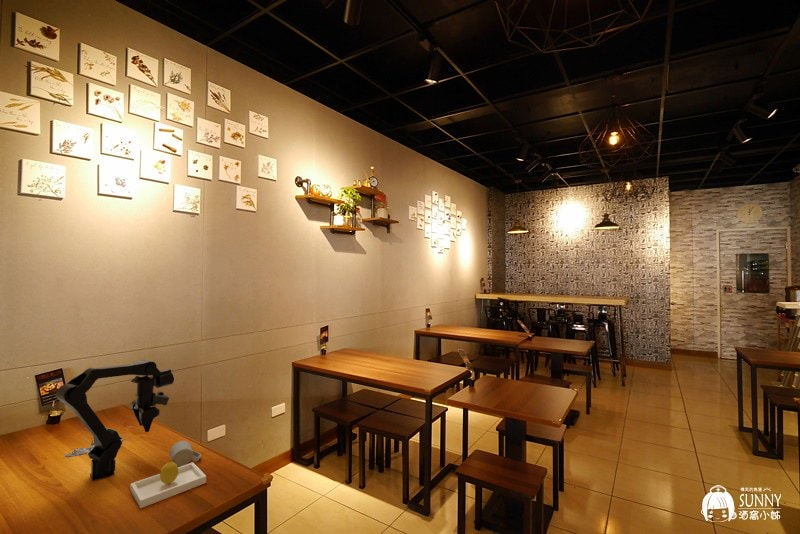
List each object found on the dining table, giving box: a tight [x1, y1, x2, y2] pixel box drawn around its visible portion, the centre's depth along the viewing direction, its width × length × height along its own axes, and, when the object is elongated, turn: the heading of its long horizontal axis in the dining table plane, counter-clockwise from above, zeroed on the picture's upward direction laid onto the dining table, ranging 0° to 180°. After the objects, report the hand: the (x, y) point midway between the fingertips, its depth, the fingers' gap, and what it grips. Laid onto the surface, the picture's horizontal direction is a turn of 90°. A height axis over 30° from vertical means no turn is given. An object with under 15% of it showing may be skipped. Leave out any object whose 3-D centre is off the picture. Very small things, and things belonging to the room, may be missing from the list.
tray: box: [130, 461, 207, 509], centre depth 130 cm, size 20×14×2 cm
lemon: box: [159, 461, 178, 485], centre depth 130 cm, size 6×6×8 cm
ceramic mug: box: [169, 440, 202, 467], centre depth 147 cm, size 11×8×8 cm
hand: (144, 428), depth 150 cm, fingers open, 9 cm apart
